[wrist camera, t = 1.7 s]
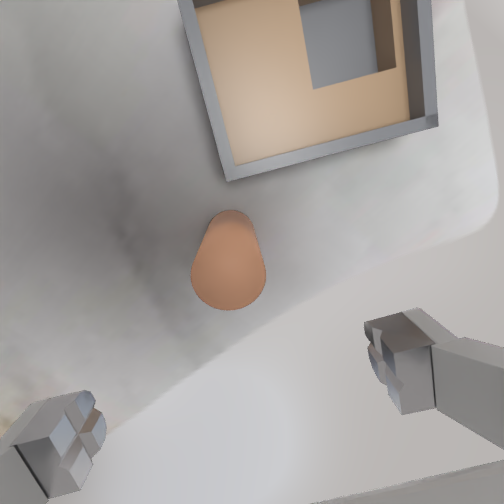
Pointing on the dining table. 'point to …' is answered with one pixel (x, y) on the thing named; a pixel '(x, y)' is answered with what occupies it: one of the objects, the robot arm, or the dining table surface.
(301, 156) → the bore box
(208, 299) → the peg
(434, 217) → the dining table surface
